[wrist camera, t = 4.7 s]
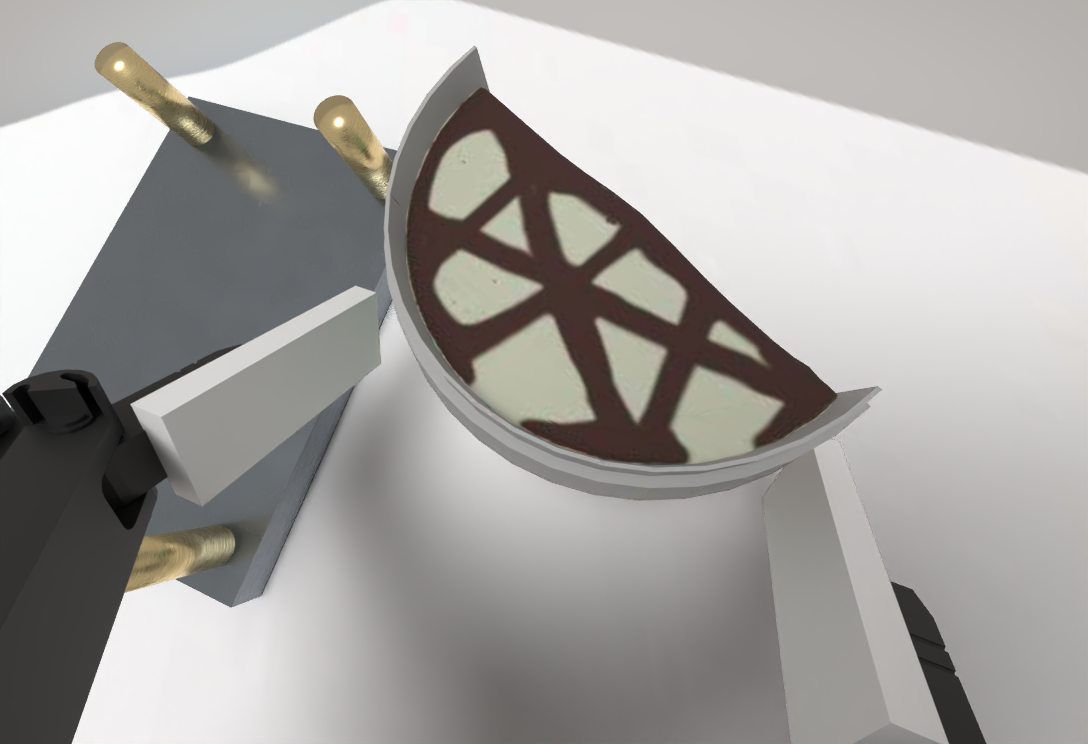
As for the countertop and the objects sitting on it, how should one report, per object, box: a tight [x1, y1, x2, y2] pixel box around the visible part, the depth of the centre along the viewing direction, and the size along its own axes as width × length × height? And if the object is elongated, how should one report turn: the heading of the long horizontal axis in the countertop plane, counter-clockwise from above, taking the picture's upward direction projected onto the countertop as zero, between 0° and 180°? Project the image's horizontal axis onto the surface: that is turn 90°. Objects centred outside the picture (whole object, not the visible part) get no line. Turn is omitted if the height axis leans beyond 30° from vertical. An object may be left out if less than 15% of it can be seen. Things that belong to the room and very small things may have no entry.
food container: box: [384, 46, 882, 500], centre depth 13 cm, size 12×6×10 cm, turn 43°
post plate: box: [11, 42, 397, 607], centre depth 18 cm, size 14×20×6 cm
